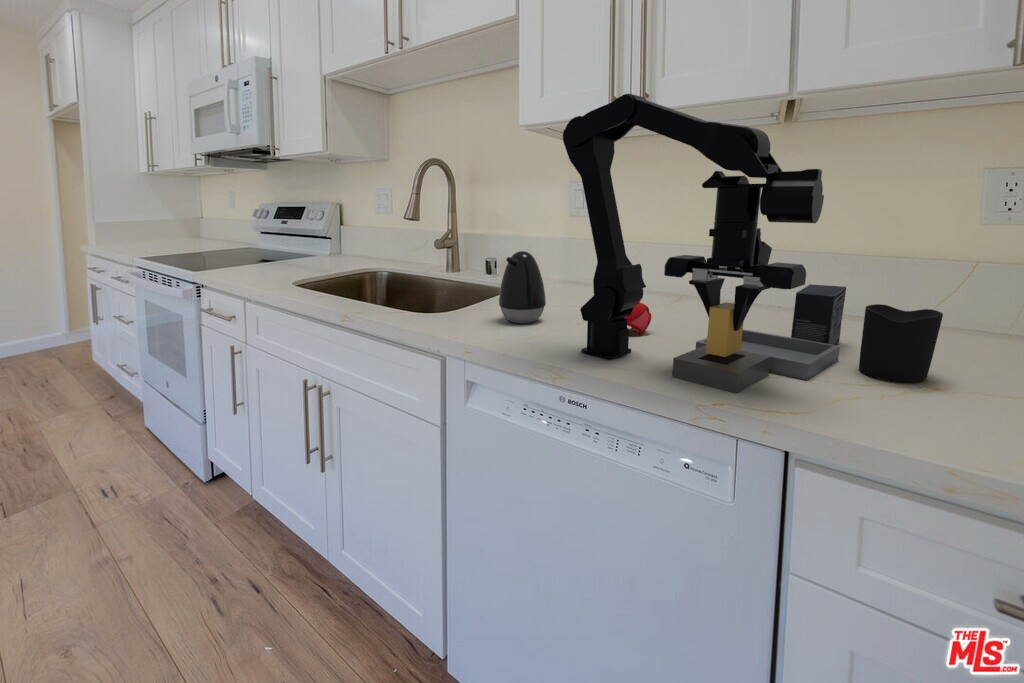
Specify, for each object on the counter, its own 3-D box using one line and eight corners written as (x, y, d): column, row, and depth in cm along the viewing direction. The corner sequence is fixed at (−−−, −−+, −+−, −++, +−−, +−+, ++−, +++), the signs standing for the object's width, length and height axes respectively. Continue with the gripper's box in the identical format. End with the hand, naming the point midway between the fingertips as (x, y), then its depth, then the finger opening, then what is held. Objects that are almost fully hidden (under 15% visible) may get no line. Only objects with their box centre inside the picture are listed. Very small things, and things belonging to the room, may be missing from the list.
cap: (643, 311, 114) (619, 297, 112) (659, 307, 108) (634, 292, 107) (628, 345, 112) (604, 332, 111) (644, 343, 106) (618, 328, 105)
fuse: (705, 353, 82) (709, 307, 80) (721, 346, 86) (725, 302, 84) (725, 357, 80) (729, 310, 78) (740, 350, 83) (745, 304, 82)
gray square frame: (672, 376, 84) (673, 358, 83) (707, 361, 91) (708, 343, 90) (736, 393, 77) (738, 372, 76) (768, 375, 84) (770, 356, 83)
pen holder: (893, 363, 89) (904, 303, 87) (946, 382, 80) (960, 315, 78) (841, 366, 88) (851, 305, 85) (889, 386, 79) (901, 318, 76)
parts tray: (694, 355, 94) (696, 341, 94) (732, 340, 103) (733, 327, 103) (807, 380, 82) (809, 364, 81) (837, 360, 91) (840, 345, 90)
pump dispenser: (489, 322, 119) (487, 252, 116) (516, 313, 128) (516, 247, 124) (528, 328, 114) (528, 254, 110) (554, 319, 122) (555, 250, 118)
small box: (801, 337, 106) (808, 282, 103) (839, 342, 102) (848, 286, 99) (786, 349, 98) (794, 290, 95) (828, 355, 94) (837, 294, 91)
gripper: (827, 221, 77) (812, 329, 81) (702, 217, 90) (694, 311, 94) (797, 224, 69) (782, 344, 73) (665, 220, 82) (659, 322, 86)
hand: (725, 328), depth 82 cm, fingers closed on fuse, 3 cm apart
